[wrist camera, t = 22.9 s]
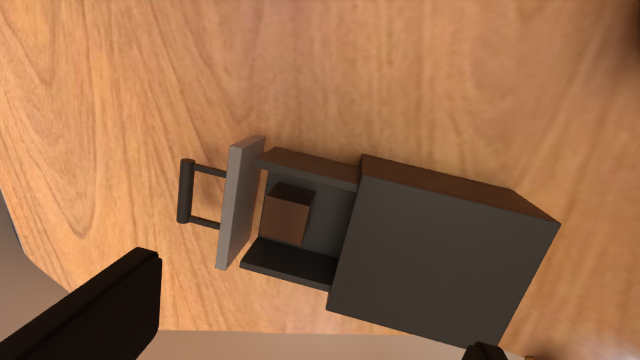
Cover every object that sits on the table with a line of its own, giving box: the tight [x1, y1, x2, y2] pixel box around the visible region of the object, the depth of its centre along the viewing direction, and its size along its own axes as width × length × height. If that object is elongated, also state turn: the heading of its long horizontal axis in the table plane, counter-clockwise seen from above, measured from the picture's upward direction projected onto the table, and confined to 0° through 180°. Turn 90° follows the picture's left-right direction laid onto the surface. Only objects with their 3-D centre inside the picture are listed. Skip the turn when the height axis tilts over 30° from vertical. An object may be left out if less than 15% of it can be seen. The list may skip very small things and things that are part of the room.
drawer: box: [177, 135, 361, 292], centre depth 32 cm, size 21×13×7 cm, turn 78°
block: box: [259, 182, 316, 246], centre depth 32 cm, size 4×4×4 cm
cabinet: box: [326, 154, 561, 349], centre depth 31 cm, size 17×15×9 cm
